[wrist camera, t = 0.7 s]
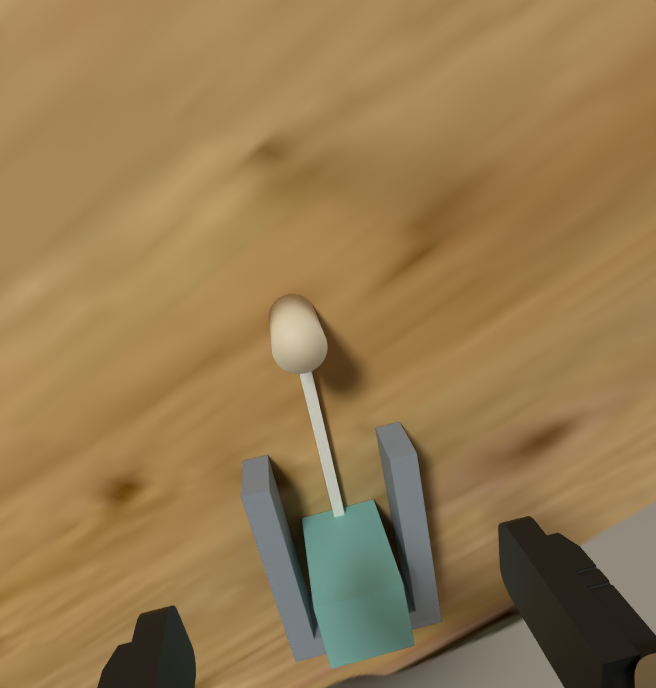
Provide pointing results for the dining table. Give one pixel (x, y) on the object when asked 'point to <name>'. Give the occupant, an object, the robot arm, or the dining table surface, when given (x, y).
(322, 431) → the tethered block
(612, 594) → the robot arm
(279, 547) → the lane
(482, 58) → the dining table surface
